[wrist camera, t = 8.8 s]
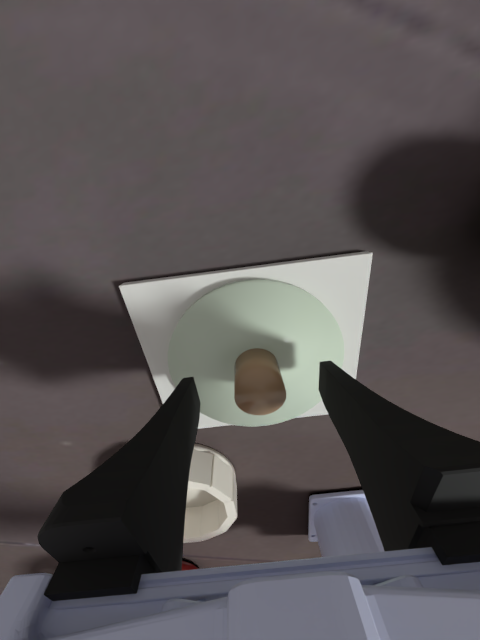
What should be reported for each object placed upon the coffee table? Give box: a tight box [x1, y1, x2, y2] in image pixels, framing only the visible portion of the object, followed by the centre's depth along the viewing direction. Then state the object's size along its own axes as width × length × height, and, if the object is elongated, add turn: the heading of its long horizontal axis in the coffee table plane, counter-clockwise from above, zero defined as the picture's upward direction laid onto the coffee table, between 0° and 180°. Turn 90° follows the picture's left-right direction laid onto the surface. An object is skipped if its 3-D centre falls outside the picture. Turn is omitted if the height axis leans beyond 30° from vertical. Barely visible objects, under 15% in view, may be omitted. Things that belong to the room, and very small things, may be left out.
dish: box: [183, 443, 237, 543], centre depth 20 cm, size 10×10×3 cm
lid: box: [168, 279, 344, 426], centre depth 13 cm, size 11×11×3 cm
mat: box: [119, 251, 373, 429], centre depth 15 cm, size 12×14×1 cm
